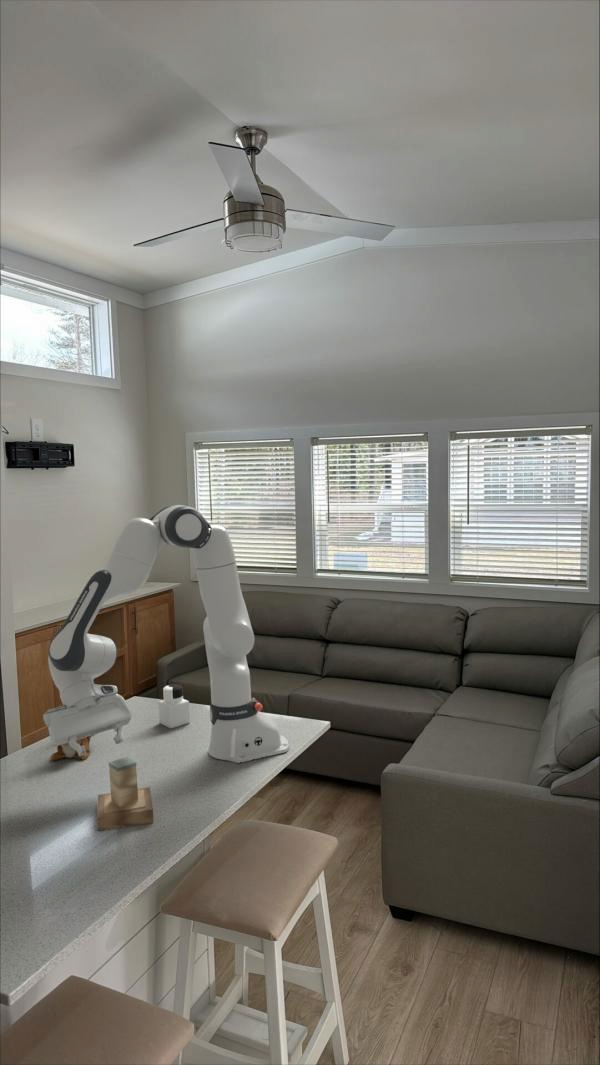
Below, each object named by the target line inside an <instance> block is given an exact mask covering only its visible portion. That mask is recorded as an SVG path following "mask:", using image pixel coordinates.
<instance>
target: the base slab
mask: <svg viewBox="0 0 600 1065" xmlns="http://www.w3.org/2000/svg"><path fill="white" fill-rule="evenodd" d="M151 793H152V792H151V786H149V787H142V788H138V801H136V802H134V803H131V804H128V805H125V806H122V807H119V806H118V805H116V804H115V803H114V802H112V801H111V792H107V793H102V794H97V807H96V808H97V810H96V811H97V814H96V822H97V832H101V830H102V831H107V830H106V829H108V830H112V829H111V828H115V829H118V828H117V827H121V828H123V827H122V826H127V827H130V826H129V825H133V826H138V825H144V824H145V823H146V824H149V823H154V811H153V810H154V809H153V803H152V802H153V801H152V800H153V799H152V794H151Z"/></svg>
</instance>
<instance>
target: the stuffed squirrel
mask: <svg viewBox="0 0 600 1065" xmlns="http://www.w3.org/2000/svg"><path fill="white" fill-rule="evenodd" d="M76 742H77V743H78V744H79V745H80V746H82V745H84V746H85V749H86V754H85V755H82V756H79V755H78V752H77V750H75V749H73V748H72V747H70V745H69V743H65V744H62V745H58V746H57V747H56V752H54V753H52V755H51V756H50V757H49V758H50V760H51V761H54V762H55V761H58V760H61V759H64V758H68V759H69V758H70V759H72V757H74V758H76V759H77V760H78V759H79V760H81V759H82V761H84V759H85V760H86V759H88V758H89V756H90V753H91V751H90V742H91V736H88V737H85V738H81V739H78V740H76Z"/></svg>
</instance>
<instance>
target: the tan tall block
mask: <svg viewBox="0 0 600 1065" xmlns="http://www.w3.org/2000/svg"><path fill="white" fill-rule="evenodd" d="M108 768H109V770H108V771H109V782H110V783H109V784H110V793H111V801H112V802H114V803H115V804H116V805H118V806H119V807H122V806H125V805H128V804H131V803H134V802H136V801H138V789H139V788H138V777H137V776H138V774H137V773H138V772H137V762H136V761H135V760H134V759H131V757H129V756H125V757H123V758H119V759H115V760H113V761H109V762H108Z"/></svg>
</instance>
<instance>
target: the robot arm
mask: <svg viewBox="0 0 600 1065" xmlns="http://www.w3.org/2000/svg"><path fill="white" fill-rule="evenodd" d="M165 546H172V547H174V548H187V549H188V548H189V549H190V550H191V552H192V556H193V557H194V565H195V572H196V575H197V576H196V577H197V582H198V587H199V592H200V598H201V600H202V604H203V607H204V610H205V614H206V617H205V618H204V621H203V625H202V627H203V628H202V629H203V638H204V645H205V652H206V658H207V665H208V666H207V667H208V671H209V681H210V682H209V683H210V699H211V701H210V702H209V717H210V718H209V719H210V722H211V730H210V731H211V732H210V733H211V734H210V741H209V746H208V752H207V753H208V754H209V756H211V758H212V757H213V758H214V759H217V760H221V761H222V760H224V761H230V762H232V763H236V764H237V763H239V764H240V762H241V763H245V762H248V761H253V759H254V760H258V759H263V758H267V757H271V756H274V755H279V754H284V753H286V752H288V750H289V749H290V745H289V741H288V739H287V738H286V737H285V736H284V735H282V734H281V733H280V730H279V727H278V725H277V723H276V722H275V721H274V719H272V718H271V717H270V716H267V715H266V714H264V713H262V712H261V711H262V710H263V708H264V707H263V704H261V702H259V700H257V699H256V698H255V697H252V690H251V673H250V669H249V668H250V667H249V666H248V664H249V663H248V660H247V655H248V654H249V653H250V652H251V651H252V650H253V647H254V645H255V634H254V631H253V627H252V623H251V620H250V619H251V618H250V616H249V613H248V609H247V605H246V601H245V599H244V596H243V592H242V589H241V582H240V577H239V572H238V567H237V566H238V564H237V560H236V556H235V551H234V547H233V544H232V541H231V538H230V534H229V533H228V530H227V528H225V527H224V526H222V525H219V524H214V523H209V522H208V521H207V520H206V518H205V517H204V516H203V514H202V513H201V511H199V510H197V509H196V508H194V507H192V506H189V505H183V504H176V505H171V506H170V505H169V506H167V507H164V508H162V509H160V510H159V511H158V512H156V513H155V514H154V515H153V516H152V517H151V518H149V519H148V518H146V517H145V518H144V517H134V518H132V519H129V521H128V522H127V523H126V525H125V526H124V527H123V529H122V530H121V533H119V536H118V538H117V540H116V542H115V544H114V546H113V548H112V552H110V555H109V557H108V559H107V560H106V562H105V564H104V565H103V566H102V568H100V570H98V571H96V572H95V573H93V574H92V576H91V577H90V578H89V580H88V581H87V582H86V585H85V586H84V587H83V589H82V591H81V593H80V595H79V596H78V598H77V600H76V602H75V603H74V605H73V607H72V609H71V610H70V612H69V614H68V616H67V618H66V619H65V621H64V623H63V625H62V626H61V627H60V628H59V629H58V631H57V632H56V633H55V635H54V636H53V637H52V639H51V641H50V642H49V646H48V656H47V657H48V658H47V659H48V660H47V661H48V669H49V672H50V676H51V678H52V680H53V683H54V685H55V687H56V688H57V689H58V691H59V697H60V700H61V703H62V705H59V706H57V707H55V708H49V709H46V711H45V712H44V713H43V716H42V717H43V718H42V719H43V722H44V724H45V725H46V727H47V728H48V733H49V739H50V741H51V744H53V745H54V746H58V745H62V744H65V743H69V745H70V747H72V748H73V749H75V750H77V752H78V755H79V756H82V755H85V754H86V749H85V746H84V745H82V746H80V745H79V744H78V743H77V742H76V740H78V739H81V738H85V737H88V736H90V737H91V736H95V735H97V734H100V733H104V732H108V731H111V730H113V731H114V733H116V734H115V735H114V737H113V741H114V744H115V745H119V744H121V743H122V742H124V739H123V738H124V737H123V736H122V729H123V726H127V725H129V723H130V722H131V720H132V716H133V714H132V711H131V709H130V706H129V705H128V703H127V701H126V699H125V698H124V697H123V696H122V695H120V694H118V691H119V690H118V687H117V686H116V685H113V684H95V682H94V680H95V679H97V678H99V677H101V676H102V675H104V674H106V673H107V672H108V671H110V670H111V669H112V668H113V667H114V665H115V664H116V661H117V658H118V657H117V656H118V650H117V649H118V648H117V645H116V643H115V642H114V640H113V639H112V638H110V637H108V636H107V637H106V636H103V635H99V634H91V633H88V632H89V630H90V628H91V626H92V624H93V623H94V621H95V620H96V617H97V615H98V613H99V612H100V610H101V608H102V606H103V605H104V604H105V603H106V602H107V601H109V600H110V599H112V598H115V597H117V596H121V595H127V594H131V593H133V592H134V593H135V592H136V591H138V590H140V589H141V588H142V587H143V586H144V585H145V584H146V582H147V580H148V578H149V577H150V574H151V572H152V569H153V566H154V563H155V561H156V558H157V555H158V554H159V553H160V551H161V550H162V549H163V548H165ZM266 756H267V757H266ZM262 757H263V758H262Z"/></svg>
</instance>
